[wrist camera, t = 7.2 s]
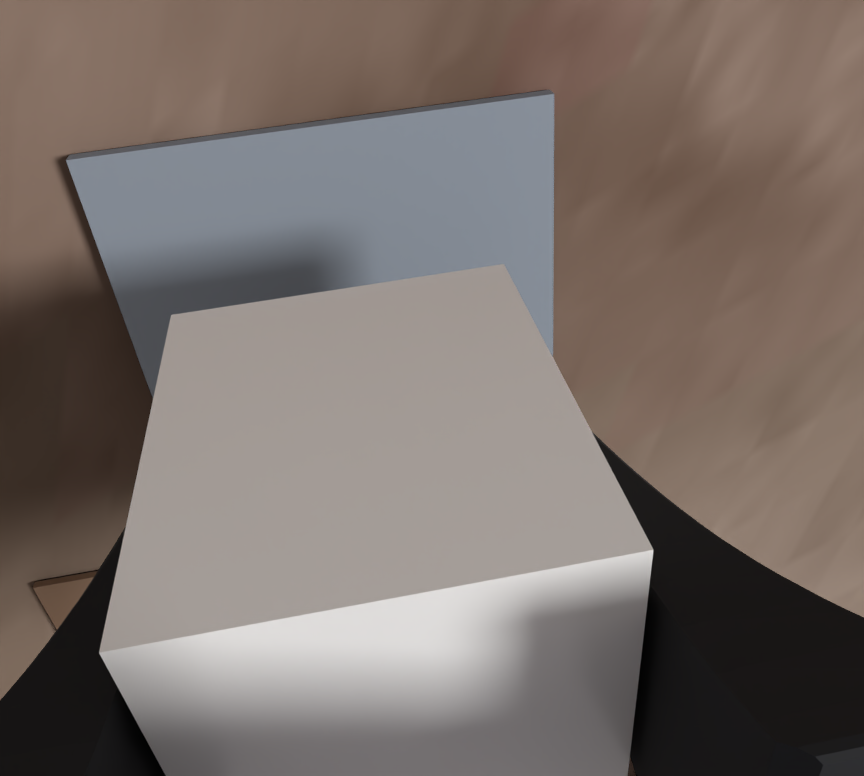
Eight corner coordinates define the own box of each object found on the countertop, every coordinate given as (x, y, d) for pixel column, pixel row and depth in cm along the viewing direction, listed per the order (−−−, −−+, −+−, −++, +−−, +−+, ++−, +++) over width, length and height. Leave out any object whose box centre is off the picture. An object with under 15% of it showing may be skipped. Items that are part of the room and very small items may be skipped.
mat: (549, 89, 15) (554, 93, 15) (548, 448, 20) (552, 456, 20) (69, 155, 14) (65, 160, 14) (197, 509, 20) (196, 517, 19)
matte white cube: (503, 263, 13) (653, 549, 8) (512, 501, 16) (622, 816, 11) (170, 314, 13) (98, 653, 8) (246, 548, 16) (232, 899, 11)
